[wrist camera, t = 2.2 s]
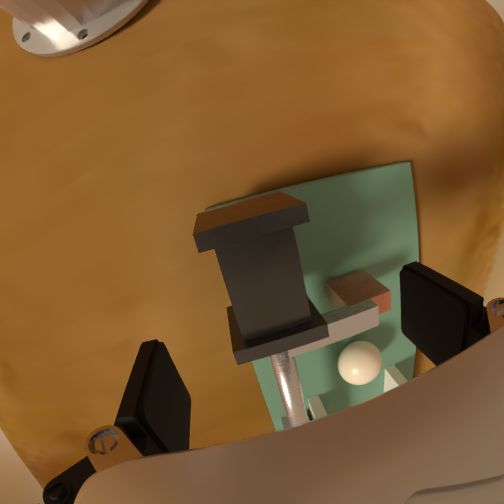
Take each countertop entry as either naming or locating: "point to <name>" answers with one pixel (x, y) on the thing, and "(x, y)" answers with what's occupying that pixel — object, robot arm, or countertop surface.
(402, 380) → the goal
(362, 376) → the ball
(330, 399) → the board
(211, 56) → the countertop surface
